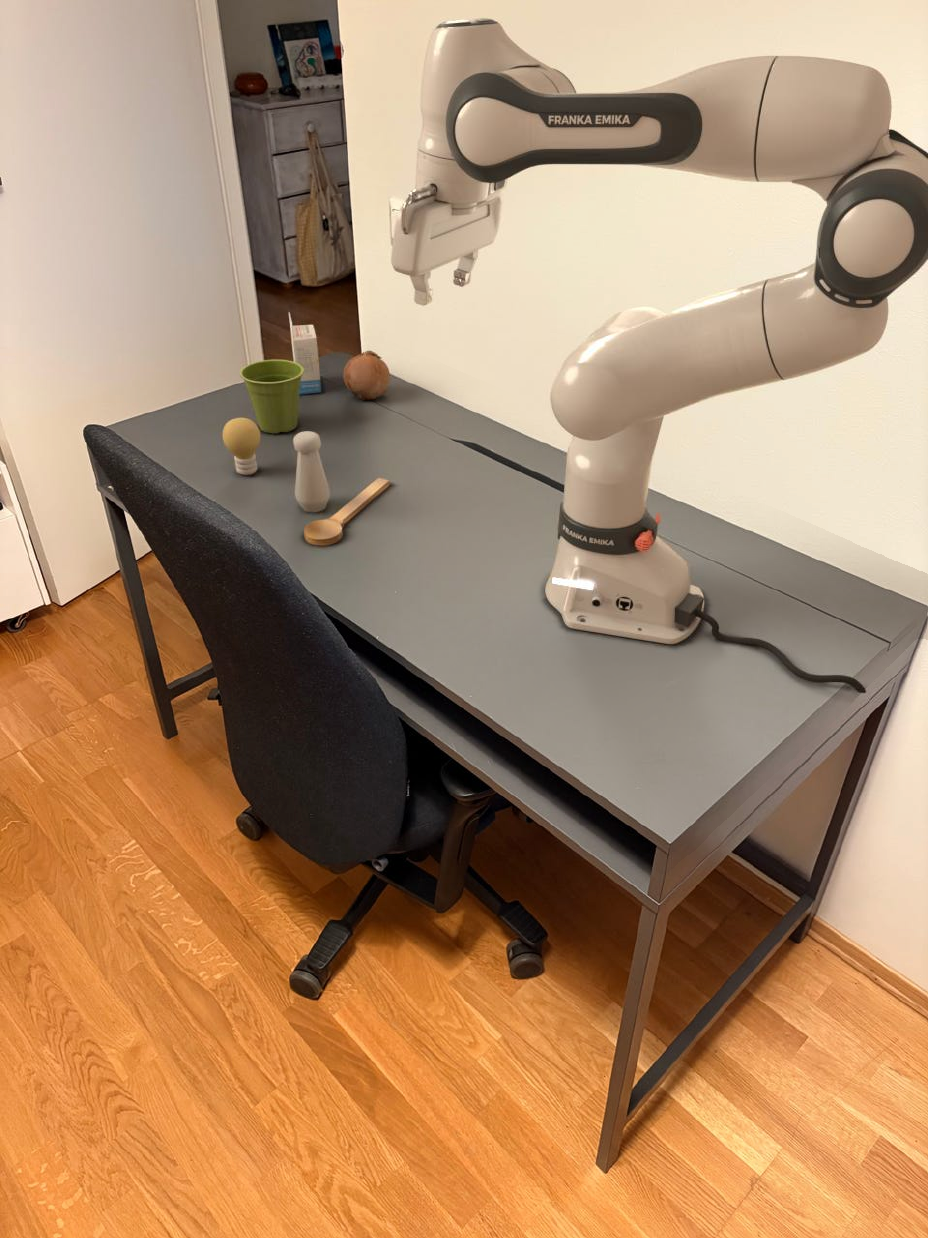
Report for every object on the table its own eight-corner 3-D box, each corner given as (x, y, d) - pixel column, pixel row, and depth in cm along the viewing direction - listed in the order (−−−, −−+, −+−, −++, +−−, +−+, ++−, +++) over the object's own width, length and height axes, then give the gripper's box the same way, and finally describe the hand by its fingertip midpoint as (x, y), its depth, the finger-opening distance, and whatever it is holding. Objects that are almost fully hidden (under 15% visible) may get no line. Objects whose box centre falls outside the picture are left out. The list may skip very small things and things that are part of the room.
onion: (371, 402, 193) (377, 353, 191) (395, 404, 186) (401, 354, 184) (332, 396, 187) (337, 346, 185) (355, 398, 180) (361, 346, 178)
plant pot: (304, 440, 172) (298, 383, 165) (242, 439, 172) (233, 382, 166) (314, 413, 182) (308, 358, 175) (254, 413, 182) (246, 358, 175)
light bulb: (268, 476, 160) (261, 424, 154) (232, 483, 159) (223, 429, 153) (261, 461, 165) (254, 409, 159) (226, 467, 163) (217, 415, 157)
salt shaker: (324, 517, 149) (317, 444, 142) (291, 513, 150) (282, 441, 142) (335, 499, 154) (329, 428, 146) (303, 496, 155) (295, 425, 147)
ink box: (322, 392, 190) (315, 322, 181) (298, 395, 189) (290, 324, 180) (318, 377, 196) (311, 308, 188) (295, 379, 196) (287, 310, 187)
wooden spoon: (369, 480, 159) (368, 474, 159) (399, 487, 157) (398, 481, 157) (297, 540, 144) (296, 533, 143) (329, 549, 142) (328, 542, 141)
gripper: (428, 199, 100) (419, 322, 109) (515, 170, 115) (501, 280, 123) (381, 186, 102) (376, 308, 111) (472, 159, 117) (461, 268, 125)
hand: (442, 293), depth 117 cm, fingers open, 8 cm apart
